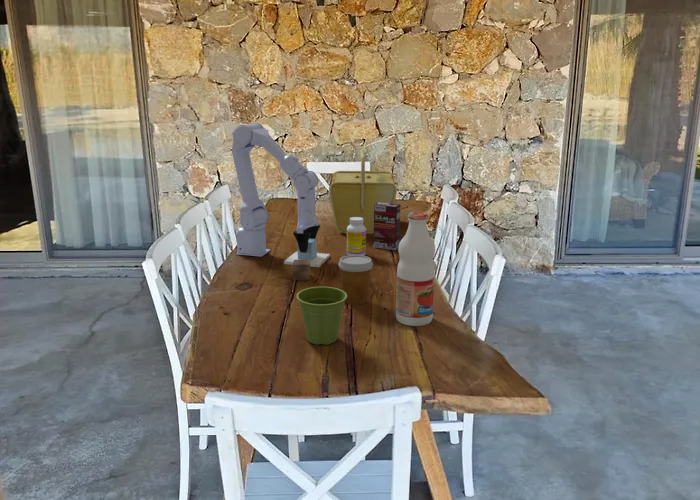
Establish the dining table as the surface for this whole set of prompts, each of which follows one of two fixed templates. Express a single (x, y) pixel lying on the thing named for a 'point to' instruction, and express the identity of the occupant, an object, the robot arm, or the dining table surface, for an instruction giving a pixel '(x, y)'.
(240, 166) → the robot arm
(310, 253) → the blue block
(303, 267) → the walnut block
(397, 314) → the fruit juice
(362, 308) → the dining table surface
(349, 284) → the disposable coffee cup
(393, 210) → the supplement box
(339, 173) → the picnic basket
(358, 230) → the supplement bottle
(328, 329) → the plant pot
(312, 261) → the plate
